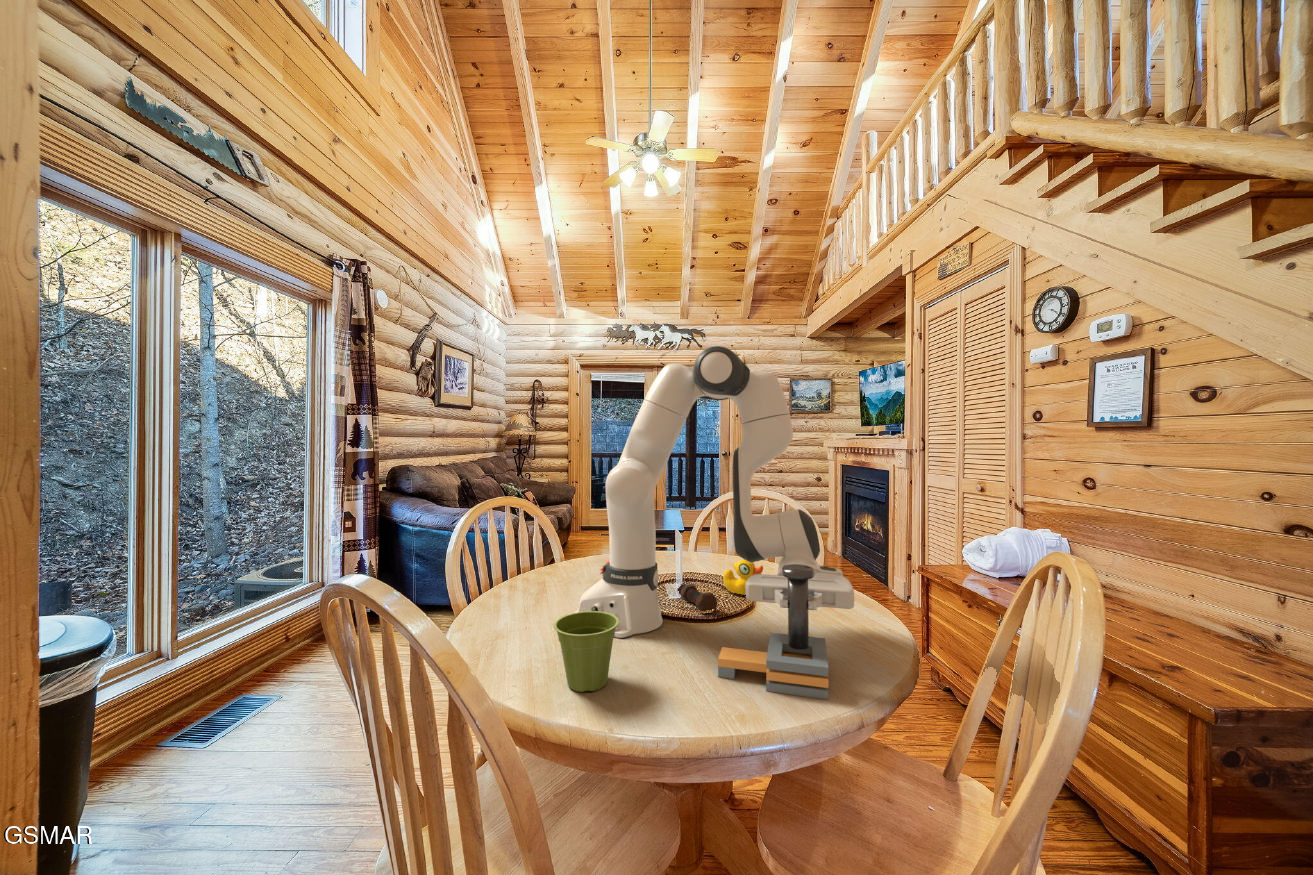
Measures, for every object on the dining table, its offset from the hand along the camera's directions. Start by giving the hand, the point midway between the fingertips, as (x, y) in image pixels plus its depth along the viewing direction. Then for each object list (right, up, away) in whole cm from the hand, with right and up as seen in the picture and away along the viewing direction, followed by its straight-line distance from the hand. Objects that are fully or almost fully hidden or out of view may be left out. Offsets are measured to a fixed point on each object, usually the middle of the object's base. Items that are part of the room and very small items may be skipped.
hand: (798, 604), depth 91 cm
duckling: (-2, -14, +49) cm, 50 cm away
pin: (0, -8, +1) cm, 8 cm away
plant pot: (-38, -15, +1) cm, 41 cm away
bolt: (-16, -14, +41) cm, 46 cm away
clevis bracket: (-4, -14, +3) cm, 15 cm away
